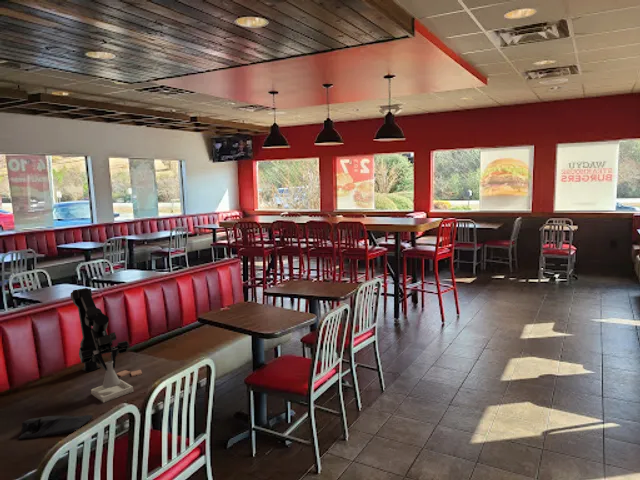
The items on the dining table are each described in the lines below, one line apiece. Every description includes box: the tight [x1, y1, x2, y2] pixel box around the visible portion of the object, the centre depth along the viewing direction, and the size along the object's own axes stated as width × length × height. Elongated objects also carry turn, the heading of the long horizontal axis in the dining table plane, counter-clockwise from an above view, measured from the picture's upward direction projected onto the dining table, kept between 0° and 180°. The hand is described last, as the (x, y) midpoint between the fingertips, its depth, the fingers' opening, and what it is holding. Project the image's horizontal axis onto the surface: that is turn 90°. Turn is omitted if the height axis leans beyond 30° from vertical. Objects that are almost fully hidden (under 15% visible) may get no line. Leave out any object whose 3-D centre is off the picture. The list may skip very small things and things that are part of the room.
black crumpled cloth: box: [18, 414, 93, 440], centre depth 174 cm, size 15×22×5 cm
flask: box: [101, 360, 121, 388], centre depth 199 cm, size 7×7×10 cm
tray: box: [90, 378, 134, 404], centre depth 200 cm, size 13×13×2 cm
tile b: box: [130, 369, 143, 377], centre depth 220 cm, size 4×4×1 cm
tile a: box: [115, 369, 131, 378], centre depth 221 cm, size 4×4×1 cm
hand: (110, 369), depth 198 cm, fingers closed on flask, 3 cm apart
